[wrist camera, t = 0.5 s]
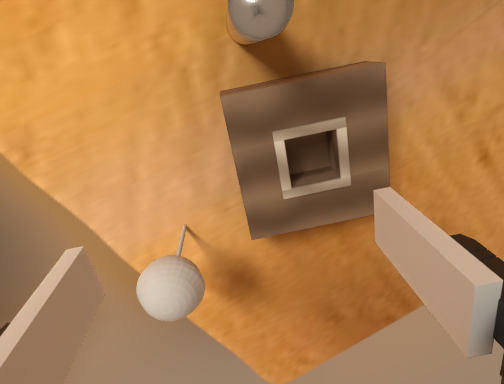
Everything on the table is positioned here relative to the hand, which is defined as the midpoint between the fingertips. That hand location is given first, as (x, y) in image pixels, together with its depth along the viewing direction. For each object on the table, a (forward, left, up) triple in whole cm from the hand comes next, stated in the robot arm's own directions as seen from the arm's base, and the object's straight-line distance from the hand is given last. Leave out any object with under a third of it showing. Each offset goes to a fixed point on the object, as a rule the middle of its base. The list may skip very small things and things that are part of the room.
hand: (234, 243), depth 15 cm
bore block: (+4, +8, -25) cm, 27 cm away
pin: (-10, +4, -25) cm, 27 cm away
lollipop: (+11, -8, -25) cm, 28 cm away
